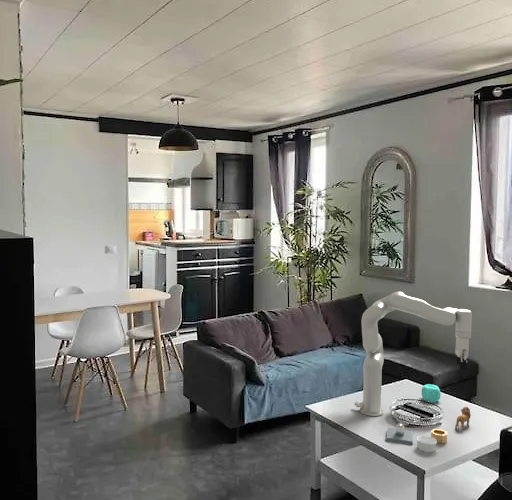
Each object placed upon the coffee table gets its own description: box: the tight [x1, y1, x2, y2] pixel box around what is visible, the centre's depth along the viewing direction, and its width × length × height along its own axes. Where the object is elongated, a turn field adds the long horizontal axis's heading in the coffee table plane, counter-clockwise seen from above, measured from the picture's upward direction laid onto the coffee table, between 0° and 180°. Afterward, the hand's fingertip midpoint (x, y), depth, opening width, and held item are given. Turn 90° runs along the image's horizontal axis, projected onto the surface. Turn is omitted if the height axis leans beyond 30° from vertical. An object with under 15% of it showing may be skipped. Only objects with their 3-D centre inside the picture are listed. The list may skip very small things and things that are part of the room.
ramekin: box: [416, 435, 438, 453], centre depth 246 cm, size 9×9×4 cm
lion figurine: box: [454, 406, 472, 432], centre depth 271 cm, size 15×5×9 cm, turn 145°
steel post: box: [395, 422, 405, 436], centre depth 257 cm, size 4×4×5 cm
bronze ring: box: [430, 428, 448, 445], centre depth 255 cm, size 7×7×4 cm
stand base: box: [385, 427, 414, 445], centre depth 258 cm, size 12×12×2 cm
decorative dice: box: [421, 383, 442, 403], centre depth 308 cm, size 8×8×8 cm
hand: (461, 366), depth 272 cm, fingers open, 9 cm apart
